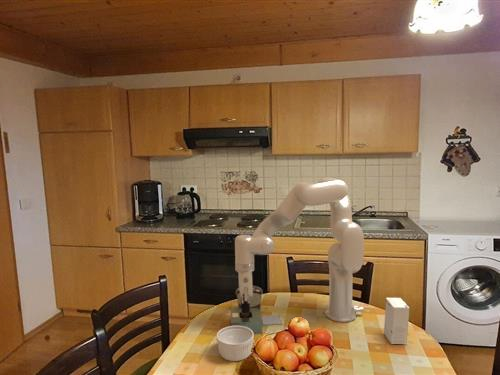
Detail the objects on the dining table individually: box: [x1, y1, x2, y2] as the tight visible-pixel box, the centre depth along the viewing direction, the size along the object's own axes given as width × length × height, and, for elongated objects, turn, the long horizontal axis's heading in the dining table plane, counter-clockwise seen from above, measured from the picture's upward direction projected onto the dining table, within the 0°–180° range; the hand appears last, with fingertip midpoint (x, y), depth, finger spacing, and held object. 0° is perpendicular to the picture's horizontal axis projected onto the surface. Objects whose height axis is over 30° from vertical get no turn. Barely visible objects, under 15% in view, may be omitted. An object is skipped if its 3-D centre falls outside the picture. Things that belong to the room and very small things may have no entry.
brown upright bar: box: [241, 294, 249, 318], centre depth 144 cm, size 3×3×13 cm
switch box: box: [230, 308, 263, 335], centre depth 145 cm, size 12×12×5 cm
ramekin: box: [216, 325, 255, 362], centre depth 126 cm, size 13×13×7 cm
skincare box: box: [383, 297, 410, 345], centre depth 133 cm, size 8×6×15 cm
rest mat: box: [261, 314, 283, 327], centre depth 150 cm, size 8×8×1 cm
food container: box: [235, 285, 264, 311], centre depth 161 cm, size 12×6×10 cm, turn 84°
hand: (245, 310), depth 144 cm, fingers closed on brown upright bar, 3 cm apart
